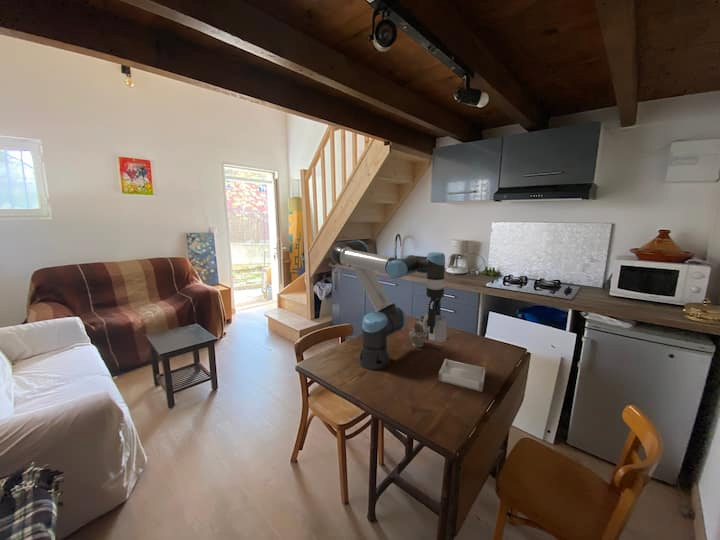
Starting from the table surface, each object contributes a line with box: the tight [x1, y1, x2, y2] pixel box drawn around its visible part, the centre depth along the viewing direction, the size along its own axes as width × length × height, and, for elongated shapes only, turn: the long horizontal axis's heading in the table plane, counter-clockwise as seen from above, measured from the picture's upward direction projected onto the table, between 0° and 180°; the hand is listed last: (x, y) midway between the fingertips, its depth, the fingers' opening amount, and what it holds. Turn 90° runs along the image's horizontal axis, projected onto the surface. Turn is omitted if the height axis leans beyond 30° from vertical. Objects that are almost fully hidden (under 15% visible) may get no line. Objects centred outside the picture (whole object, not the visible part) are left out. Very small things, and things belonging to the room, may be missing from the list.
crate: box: [437, 358, 486, 393], centre depth 128 cm, size 18×14×4 cm
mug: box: [423, 309, 448, 343], centre depth 133 cm, size 8×12×12 cm, turn 49°
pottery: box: [408, 315, 429, 348], centre depth 165 cm, size 11×25×12 cm, turn 154°
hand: (433, 336), depth 133 cm, fingers closed on mug, 7 cm apart
